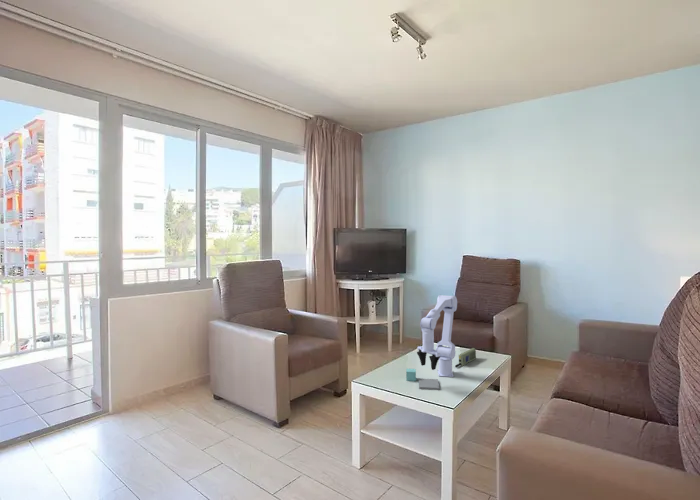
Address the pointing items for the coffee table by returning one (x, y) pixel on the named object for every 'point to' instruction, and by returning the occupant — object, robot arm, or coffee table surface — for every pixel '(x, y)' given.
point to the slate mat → (428, 384)
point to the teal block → (410, 374)
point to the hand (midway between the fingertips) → (428, 367)
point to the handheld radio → (466, 357)
